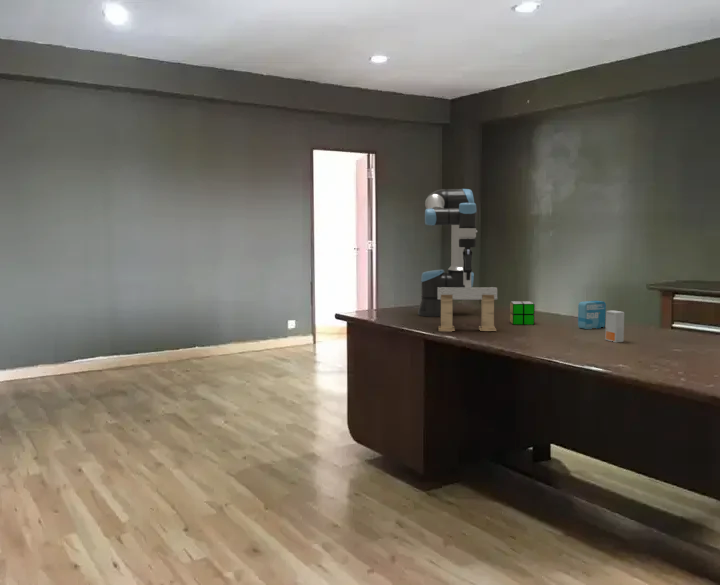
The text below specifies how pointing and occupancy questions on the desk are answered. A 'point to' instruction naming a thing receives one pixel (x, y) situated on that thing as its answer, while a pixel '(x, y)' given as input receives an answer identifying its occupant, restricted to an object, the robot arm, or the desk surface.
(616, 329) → the skincare box
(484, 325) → the post
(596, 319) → the data package
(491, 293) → the rail
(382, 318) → the desk surface
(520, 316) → the puzzle cube
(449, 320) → the post
